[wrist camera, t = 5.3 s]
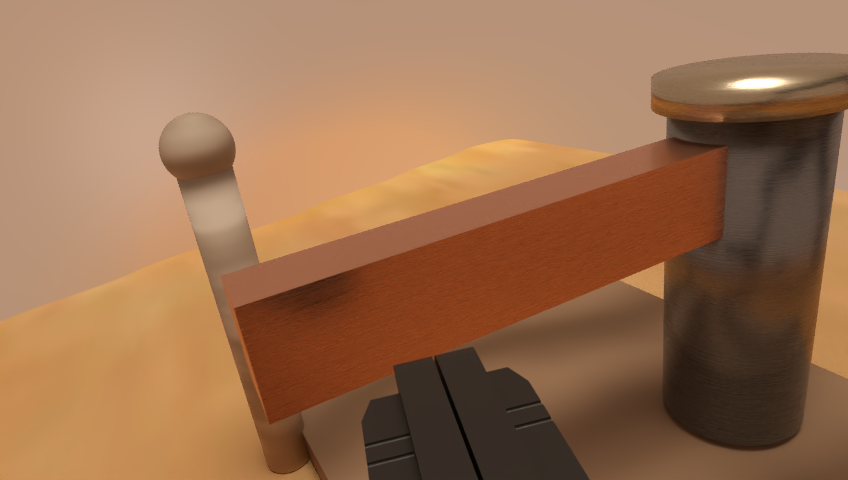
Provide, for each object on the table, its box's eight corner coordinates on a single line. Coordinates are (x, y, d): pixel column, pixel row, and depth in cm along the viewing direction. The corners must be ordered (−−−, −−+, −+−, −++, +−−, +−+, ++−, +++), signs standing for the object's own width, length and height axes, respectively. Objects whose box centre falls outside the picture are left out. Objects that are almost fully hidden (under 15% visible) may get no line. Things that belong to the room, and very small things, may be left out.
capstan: (715, 342, 27) (732, 52, 22) (855, 411, 22) (918, 53, 17) (303, 552, 19) (189, 185, 14) (367, 731, 14) (224, 258, 9)
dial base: (1047, 505, 19) (1231, -9, 13) (510, 1099, 10) (332, 356, 4) (602, 294, 36) (595, 27, 30) (254, 451, 27) (145, 117, 21)
